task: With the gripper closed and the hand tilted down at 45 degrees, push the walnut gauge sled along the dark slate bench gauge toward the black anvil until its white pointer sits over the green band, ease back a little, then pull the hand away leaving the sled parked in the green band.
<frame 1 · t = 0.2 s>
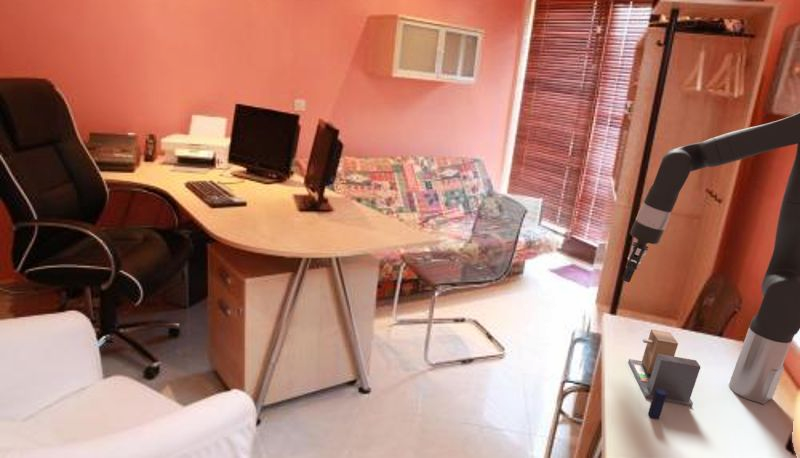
hand: (627, 276, 148), 22 cm above the table, tool pointing down, fingers open, 8 cm apart
bench gauge: (655, 377, 143), on the table
gauge sled: (655, 352, 143), point 6 cm above the table, slide at 0.0 cm
eraser: (653, 417, 126), on the table
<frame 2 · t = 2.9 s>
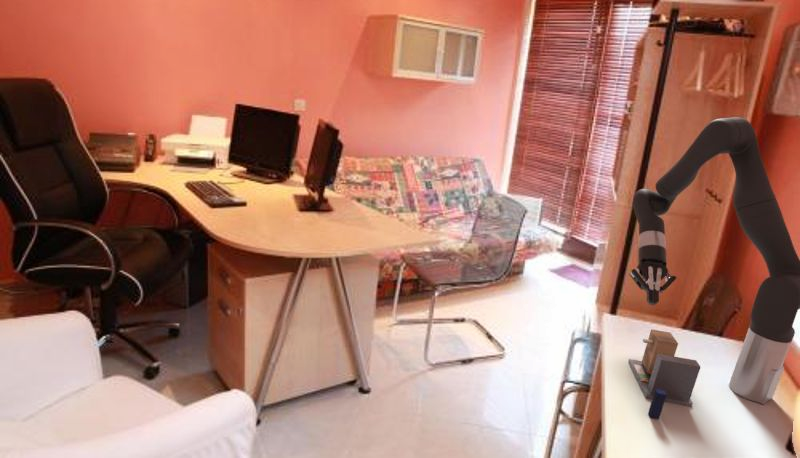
hand: (653, 304, 152), 15 cm above the table, tool tilted 45°, fingers closed
nothing on the table moved.
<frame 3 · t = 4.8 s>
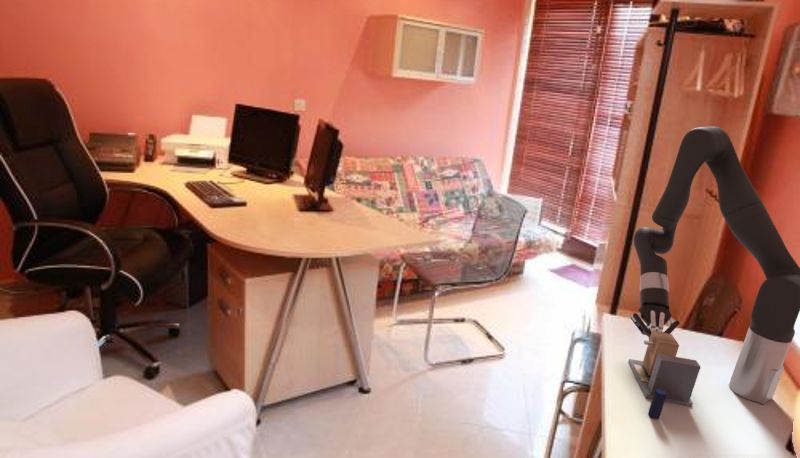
hand: (655, 351, 145), 5 cm above the table, tool tilted 45°, fingers closed
gauge sled: (655, 353, 142), point 6 cm above the table, slide at 0.9 cm, touching gripper
everything else where it was.
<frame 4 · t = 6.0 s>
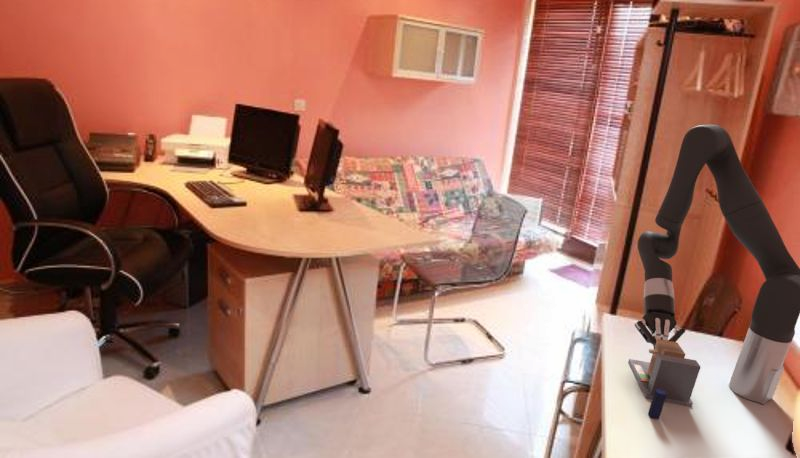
hand: (660, 359, 141), 5 cm above the table, tool tilted 45°, fingers closed
gauge sled: (661, 362, 138), point 6 cm above the table, slide at 5.4 cm, touching gripper
everything else where it was.
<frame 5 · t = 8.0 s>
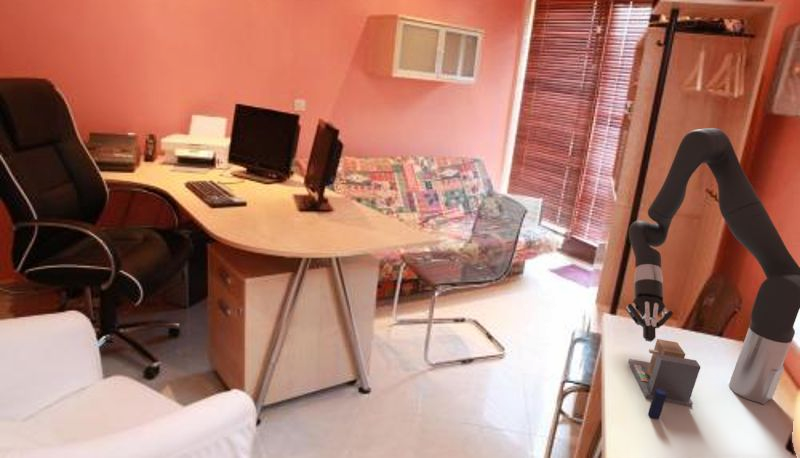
hand: (649, 340, 150), 6 cm above the table, tool tilted 45°, fingers closed
gauge sled: (661, 362, 138), point 6 cm above the table, slide at 5.4 cm
everything else where it was.
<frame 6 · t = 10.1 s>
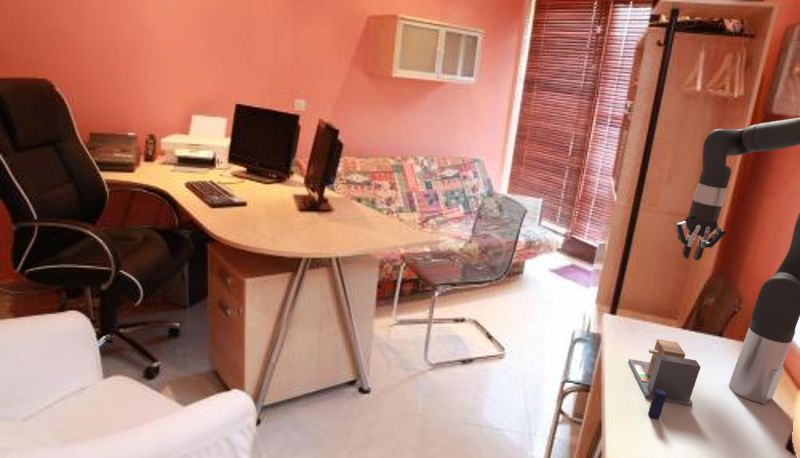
hand: (690, 258, 156), 27 cm above the table, tool pointing down, fingers closed
nothing on the table moved.
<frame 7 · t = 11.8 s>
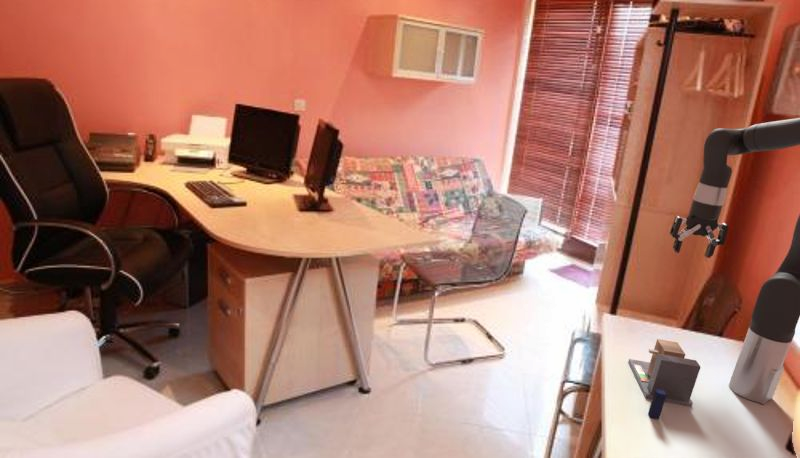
hand: (691, 254, 156), 28 cm above the table, tool pointing down, fingers open, 8 cm apart
nothing on the table moved.
at the end: gauge sled slide at 5.4 cm; the gripper is holding nothing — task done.
